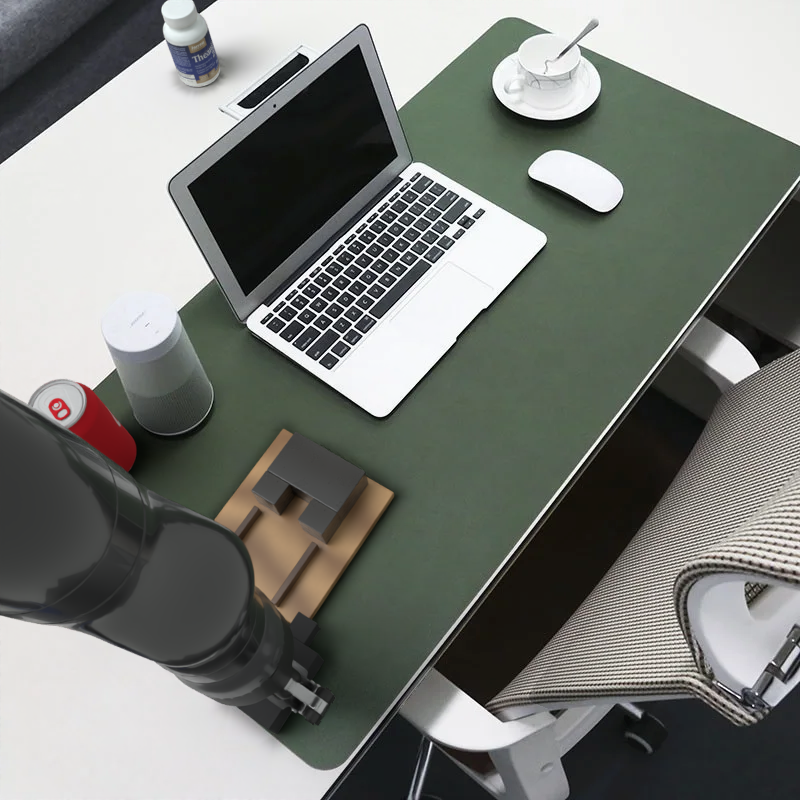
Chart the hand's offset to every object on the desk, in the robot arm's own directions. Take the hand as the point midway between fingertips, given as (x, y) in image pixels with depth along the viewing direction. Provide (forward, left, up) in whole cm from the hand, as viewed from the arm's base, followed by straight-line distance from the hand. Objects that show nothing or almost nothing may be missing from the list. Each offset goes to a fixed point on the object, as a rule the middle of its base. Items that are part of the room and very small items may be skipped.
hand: (276, 678), depth 71 cm
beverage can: (+8, +27, -1) cm, 28 cm away
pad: (0, 0, -1) cm, 1 cm away
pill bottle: (+55, +53, -1) cm, 76 cm away
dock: (+12, +7, -1) cm, 14 cm away
